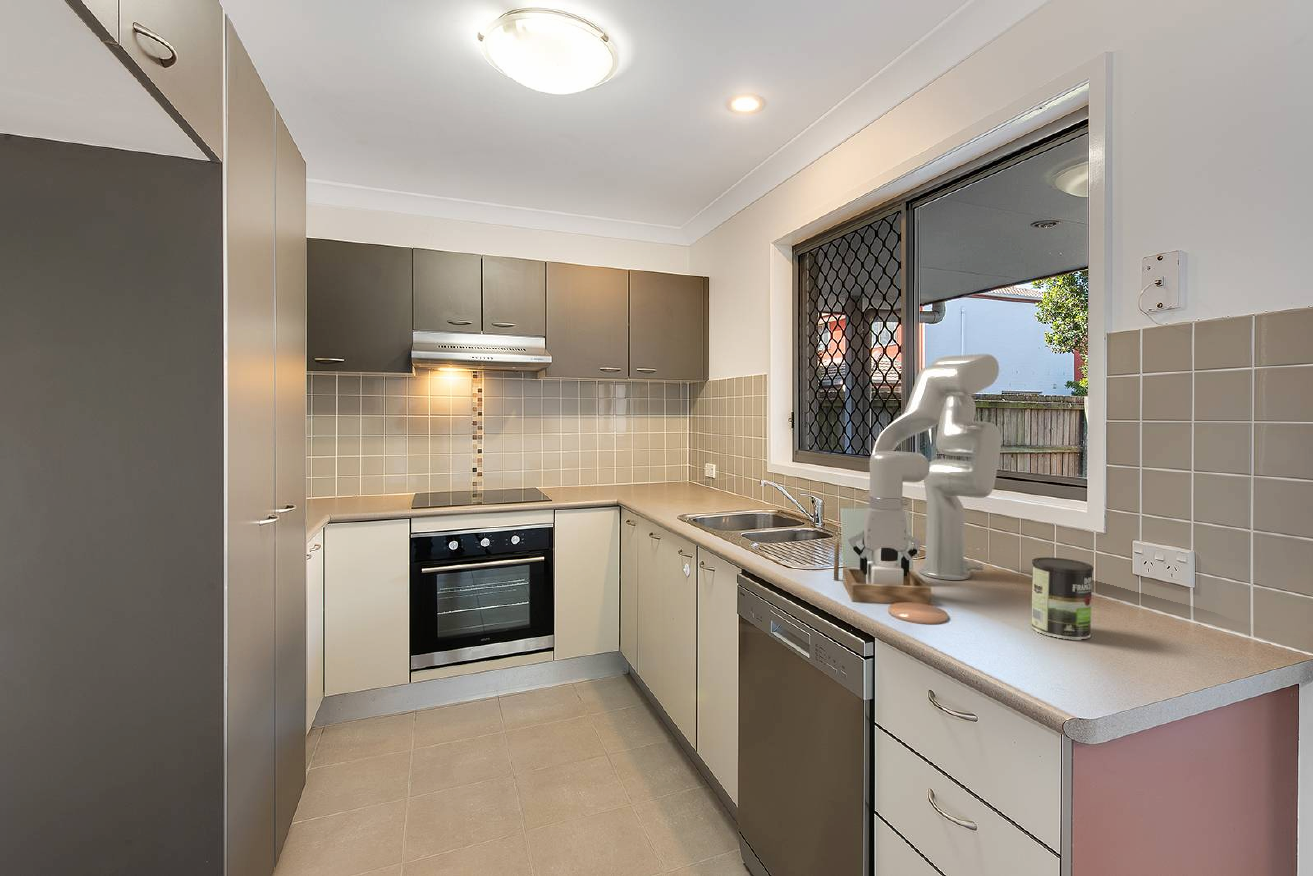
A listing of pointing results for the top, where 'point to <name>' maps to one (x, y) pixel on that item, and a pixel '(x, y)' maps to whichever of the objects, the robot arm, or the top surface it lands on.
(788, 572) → the top surface
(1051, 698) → the top surface
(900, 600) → the frame
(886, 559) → the medicine bottle
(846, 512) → the lid
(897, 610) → the saucer
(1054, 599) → the coffee can
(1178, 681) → the top surface
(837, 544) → the prop stake
